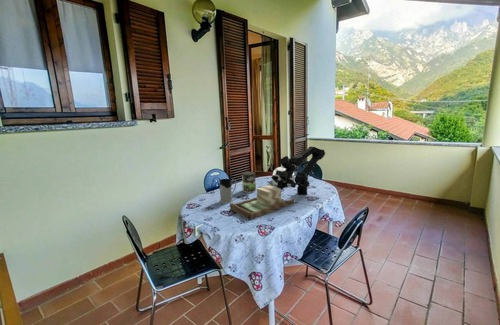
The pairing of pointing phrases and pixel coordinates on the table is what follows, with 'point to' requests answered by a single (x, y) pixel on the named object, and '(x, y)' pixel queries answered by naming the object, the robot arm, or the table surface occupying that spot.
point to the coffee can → (249, 182)
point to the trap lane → (257, 207)
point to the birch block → (268, 195)
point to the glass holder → (226, 190)
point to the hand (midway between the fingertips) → (276, 191)
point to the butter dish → (278, 176)
